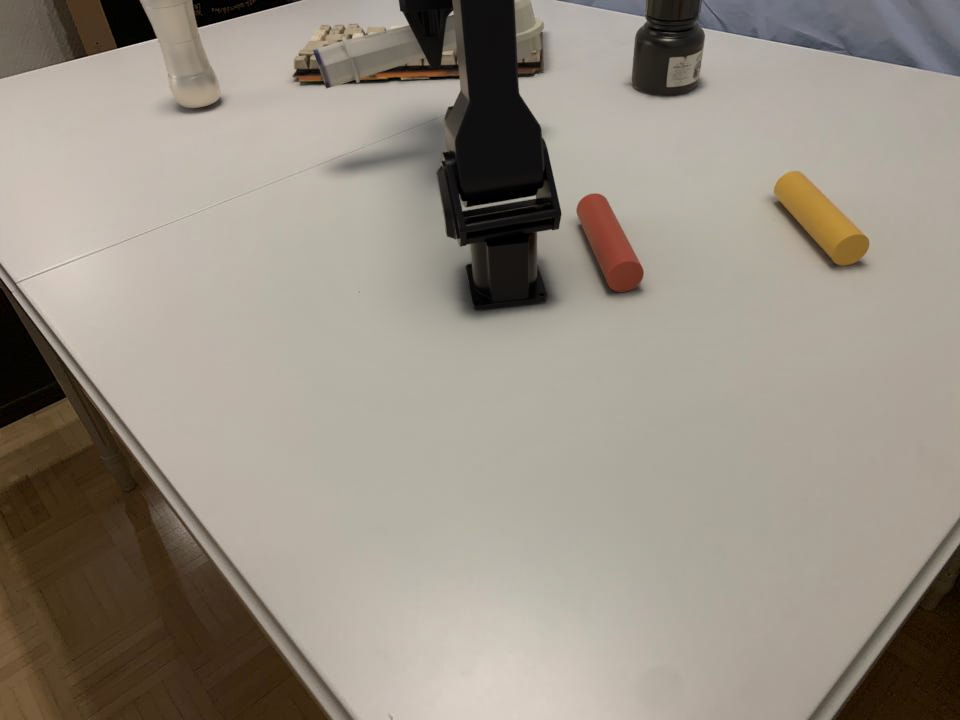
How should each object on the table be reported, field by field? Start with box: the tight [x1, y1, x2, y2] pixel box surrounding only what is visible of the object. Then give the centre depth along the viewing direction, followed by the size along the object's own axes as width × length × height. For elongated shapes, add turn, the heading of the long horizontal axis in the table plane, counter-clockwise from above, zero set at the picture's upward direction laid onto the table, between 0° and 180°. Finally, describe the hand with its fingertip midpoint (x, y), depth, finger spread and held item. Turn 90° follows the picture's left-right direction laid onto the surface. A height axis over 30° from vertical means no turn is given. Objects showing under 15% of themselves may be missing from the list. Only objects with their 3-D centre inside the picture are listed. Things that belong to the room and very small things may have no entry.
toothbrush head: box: [313, 0, 545, 90], centre depth 77 cm, size 5×7×25 cm
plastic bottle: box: [139, 0, 221, 109], centre depth 94 cm, size 6×7×20 cm
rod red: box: [575, 192, 645, 293], centre depth 65 cm, size 12×3×3 cm, turn 7°
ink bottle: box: [631, 0, 706, 95], centre depth 92 cm, size 10×9×12 cm
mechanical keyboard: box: [292, 23, 544, 83], centre depth 108 cm, size 38×19×3 cm, turn 87°
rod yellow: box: [773, 170, 870, 266], centre depth 66 cm, size 12×3×3 cm, turn 7°
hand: (433, 59), depth 78 cm, fingers closed on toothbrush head, 5 cm apart
